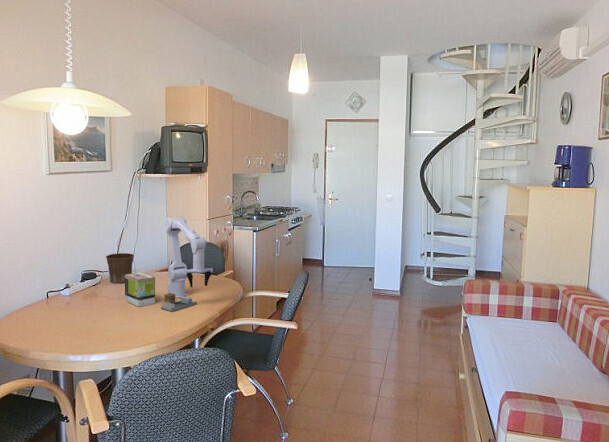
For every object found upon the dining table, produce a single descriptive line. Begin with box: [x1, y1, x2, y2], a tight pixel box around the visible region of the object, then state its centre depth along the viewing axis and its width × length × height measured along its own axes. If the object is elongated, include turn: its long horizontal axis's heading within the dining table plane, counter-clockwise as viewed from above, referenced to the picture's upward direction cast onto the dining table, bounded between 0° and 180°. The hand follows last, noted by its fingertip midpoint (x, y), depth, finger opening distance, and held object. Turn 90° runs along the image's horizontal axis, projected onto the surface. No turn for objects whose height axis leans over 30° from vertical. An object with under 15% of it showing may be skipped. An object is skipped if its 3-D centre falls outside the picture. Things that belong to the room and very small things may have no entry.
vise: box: [160, 300, 198, 313], centre depth 246 cm, size 8×17×3 cm, turn 146°
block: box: [163, 292, 176, 303], centre depth 251 cm, size 4×4×5 cm
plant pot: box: [105, 252, 135, 285], centre depth 293 cm, size 16×16×16 cm
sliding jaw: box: [180, 296, 193, 304], centre depth 250 cm, size 6×2×3 cm, turn 56°
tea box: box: [124, 271, 156, 307], centre depth 252 cm, size 15×10×15 cm
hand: (198, 286), depth 250 cm, fingers open, 7 cm apart
